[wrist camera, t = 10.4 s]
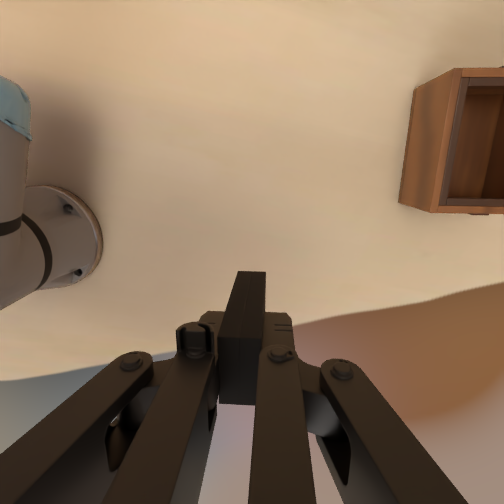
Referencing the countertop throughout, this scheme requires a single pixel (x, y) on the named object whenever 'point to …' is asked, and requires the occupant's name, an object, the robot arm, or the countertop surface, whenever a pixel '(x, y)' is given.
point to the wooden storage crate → (456, 144)
